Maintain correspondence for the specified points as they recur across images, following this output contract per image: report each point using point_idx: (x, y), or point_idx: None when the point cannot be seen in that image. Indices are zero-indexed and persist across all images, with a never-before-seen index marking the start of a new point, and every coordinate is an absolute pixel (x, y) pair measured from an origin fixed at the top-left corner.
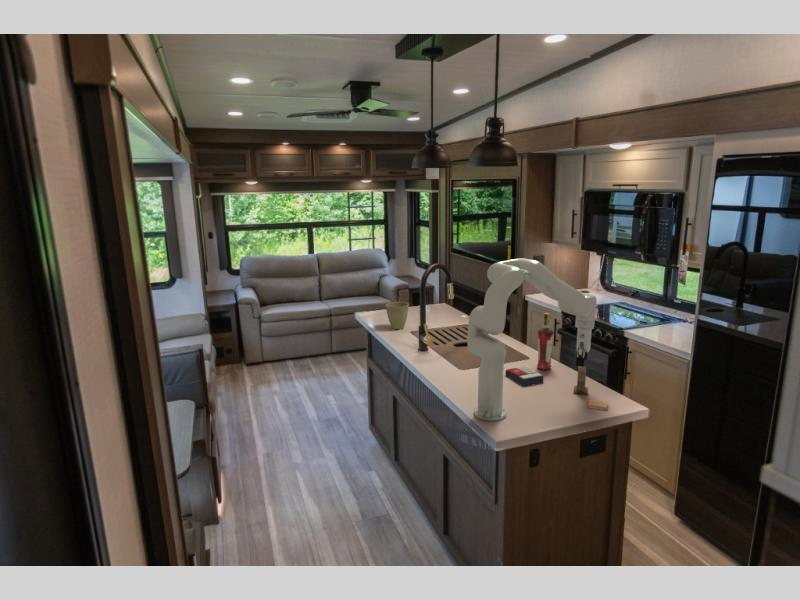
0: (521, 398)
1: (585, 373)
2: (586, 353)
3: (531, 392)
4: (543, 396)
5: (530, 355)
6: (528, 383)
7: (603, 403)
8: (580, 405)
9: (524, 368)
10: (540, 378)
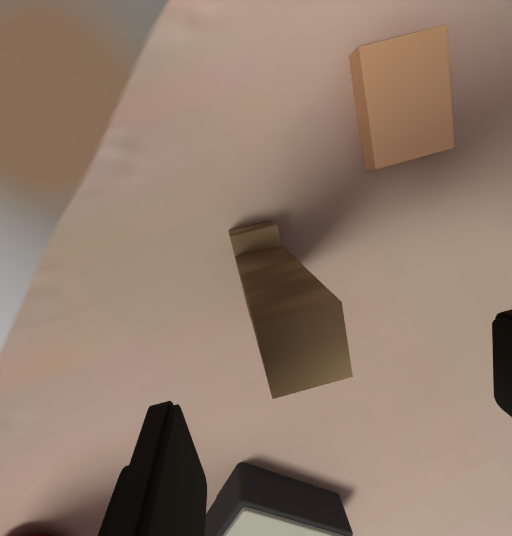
0: (470, 438)
1: (293, 284)
2: (154, 511)
3: (388, 441)
4: (406, 384)
5: None
6: (322, 498)
7: (396, 68)
8: (429, 198)
9: None
10: (261, 494)
